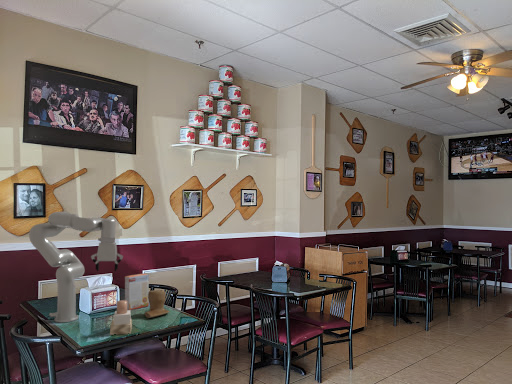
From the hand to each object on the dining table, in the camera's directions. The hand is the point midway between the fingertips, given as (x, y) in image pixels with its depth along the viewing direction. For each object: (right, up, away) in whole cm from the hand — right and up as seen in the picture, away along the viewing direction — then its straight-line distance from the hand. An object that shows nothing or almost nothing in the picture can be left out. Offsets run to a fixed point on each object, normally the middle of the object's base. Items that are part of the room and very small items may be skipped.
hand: (106, 270), depth 231 cm
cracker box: (+8, -30, +31) cm, 44 cm away
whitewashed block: (+14, -24, -15) cm, 32 cm away
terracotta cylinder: (+14, -19, -15) cm, 28 cm away
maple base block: (+13, -29, -15) cm, 35 cm away
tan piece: (+24, -30, +14) cm, 41 cm away
